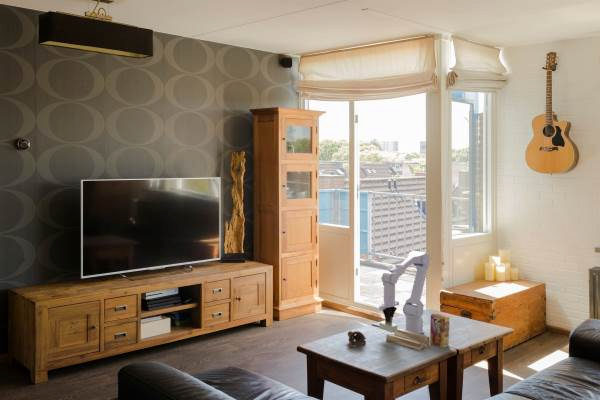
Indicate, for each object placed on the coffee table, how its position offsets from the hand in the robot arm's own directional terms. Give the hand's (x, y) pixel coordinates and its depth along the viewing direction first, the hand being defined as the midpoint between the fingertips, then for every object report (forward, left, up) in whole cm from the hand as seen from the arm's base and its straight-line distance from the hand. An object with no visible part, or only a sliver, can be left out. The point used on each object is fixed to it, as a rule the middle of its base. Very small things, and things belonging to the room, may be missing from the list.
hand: (388, 321), depth 296 cm
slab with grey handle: (0, 0, -4) cm, 4 cm away
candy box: (-14, +21, -11) cm, 28 cm away
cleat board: (-5, +8, -10) cm, 14 cm away
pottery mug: (+17, -8, -11) cm, 21 cm away
